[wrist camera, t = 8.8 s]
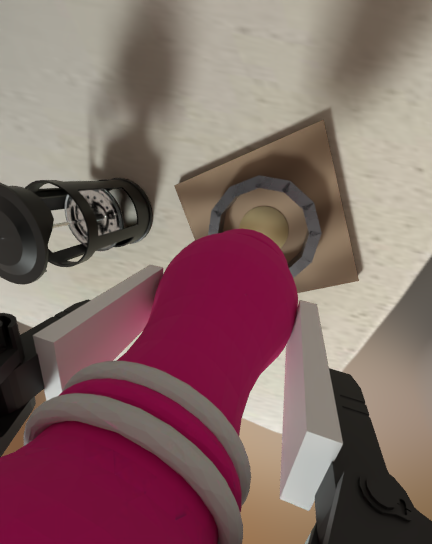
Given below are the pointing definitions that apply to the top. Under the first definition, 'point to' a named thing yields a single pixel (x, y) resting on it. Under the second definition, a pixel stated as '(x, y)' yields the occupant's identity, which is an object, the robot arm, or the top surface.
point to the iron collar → (291, 191)
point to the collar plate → (281, 203)
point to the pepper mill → (159, 412)
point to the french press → (64, 223)
